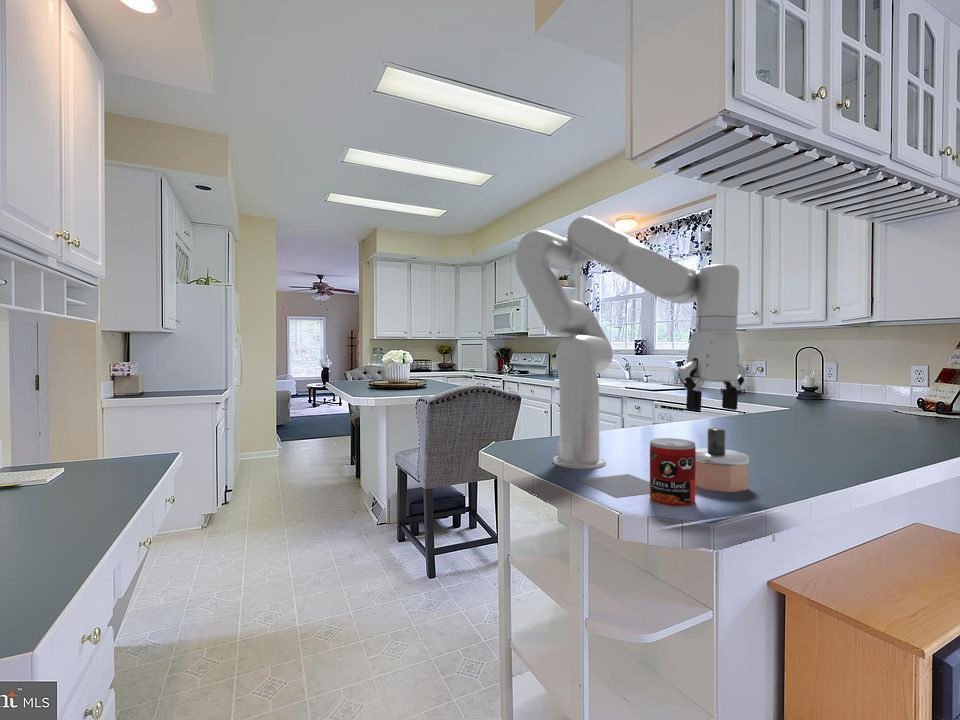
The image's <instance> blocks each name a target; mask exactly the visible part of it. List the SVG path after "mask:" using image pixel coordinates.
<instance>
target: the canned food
mask: <svg viewBox="0 0 960 720" xmlns="http://www.w3.org/2000/svg"><path fill="white" fill-rule="evenodd" d="M649 442H650V443H649V482H650V494H649V497H650V499H651V500H652V502H655V503H656V504H660V505H664V506H670V507H688V506H692V505H694V503H695V501H696V486H695V469H696V443H695V442H693V441H692V440H688V439H682V438H676V437H675V438H674V437H662V438H661V437H660V438H653V439H651V440H650V441H649Z"/></svg>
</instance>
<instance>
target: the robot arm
mask: <svg viewBox="0 0 960 720" xmlns="http://www.w3.org/2000/svg"><path fill="white" fill-rule="evenodd" d="M566 233H567V235H566V236H560V235H558V234H555V233H553V232H551V231H548V230H543V229H535V230H531V231H528V232H527V233H526V234H525V235H524V236H522V237H521V239H520V241H519V242H518V245H517V247H516V251H515V267H516V272H517V274H518V276H519V279H520V282H521V283H522V285H523V286H524V289H525V291H527V294H528V297H529V298H530V301H531V302H532V304H533V306H534V308H535V310H536V312H537V314H538V316H539V317H540V320H541V322H542V324H543V326H544V328H545V329H546V331H547V332H548V333H550V334H551V335H554V336H557V337H566V338H564V339H563V340H562V341H561V342H560V343H559V344H558V347H557V350H556V354H555V360H556V362H555V363H556V368H557V369H556V370H557V374H558V383H559V385H558V386H559V388H558V389H559V442H558V443H557V444H555V445H556V446H555V448H556V449H557V450H558V451H559V452H558V453H559V454H558V455H556V456H554V457H553V458H552V459H553V464H555V465H556V466H559V467H563V468H568V469H575V470H576V469H579V470H590V469H592V470H593V469H594V470H595V469H601V468H603V467H605V466H606V464H607V460H606V459H605V458H604V457H602V456H600V385H599V380H598V375H597V373H600V372H603V371H604V370H606V369H608V367H610V364H611V363H612V360H613V355H614V354H613V347H612V345H611V342H610V341H609V339H608V337H607V335H606V334H605V332H604V330H603V328H602V326H601V325H600V323H599V321H598V319H597V318H596V315H595V314H594V313H593V311H592V310H591V309H590V308H589V306H587V305H586V304H585V303H583V302H581V301H577V300H573V299H571V298H570V297H569V296H568V294H567V292H566V291H565V289H564V287H563V286H562V284H561V281H560V280H559V278H558V277H557V275H556V274H555V273H554V272H553V271H552V270H553V269H554V270H564V269H568V268H573V267H577V266H579V265H582V264H586V263H588V262H592V261H595V262H597V263H599V264H600V265H602V266H603V267H604V268H607V269H609V270H610V271H612V272H613V273H615V274H616V275H618V276H622V278H625V279H627V280H628V281H630V282H631V283H633V284H635V285H636V286H639V287H640V288H642V289H643V290H645V291H647V292H649V293H650V294H652V295H653V296H656V297H658V298H660V299H662V300H665V301H668V302H672V303H674V304H678V305H679V304H681V305H682V304H690V303H696V310H695V311H696V312H695V331H694V332H692V333H691V337H690V340H689V345H688V350H687V354H686V355H687V357H686V363H685V364H683V365H682V366H680V367H679V368H678V370H677V371H678V374H679V376H680V378H681V379H680V382H681V383H682V384H683V386H684V389H685V390H686V410H691V411H695V412H701V410H702V398H703V397H702V394H703V393H702V390H700V389H701V388H702V387H703V385H704V383H706V382H707V383H708V382H711V383H715V382H716V383H718V382H719V383H720V382H721V383H722V384H723V386H724V388H723V389H722V401H721V403H722V404H721V407H722V408H723V409H727V410H731V411H732V410H733V411H736V410H737V409H738V397H739V391H740V390H741V387H742V384H743V383H744V382H745V378H746V376H747V373H748V370H747V368H745V367H744V366H743V365H741V364H740V347H739V338H738V333H737V330H738V309H739V287H740V270H739V267H737V266H736V265H733V264H729V263H728V264H726V263H723V264H721V263H719V264H718V263H717V264H710V265H704V266H702V267H701V268H700V269H691V268H688V267H686V266H684V265H682V264H679V263H678V262H676V261H673V260H671V259H670V258H668V257H666V256H664V255H662V254H661V253H658V252H657V251H654V250H652V249H650V248H649V247H647V246H645V245H644V244H642V243H641V242H640V241H639V240H638V239H636V238H634V237H632V236H631V235H628V234H627V233H625V232H623V231H621V230H619V229H617V228H615V227H613V226H611V225H609V224H607V223H605V222H604V221H601V220H600V219H597V218H595V217H592V216H588V215H583V216H578V217H576V218H575V219H573V220H572V221H571V223H570V224H569V225H568V228H567V231H566ZM551 269H552V270H551Z"/></svg>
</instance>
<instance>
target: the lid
mask: <svg viewBox="0 0 960 720" xmlns="http://www.w3.org/2000/svg"><path fill="white" fill-rule="evenodd" d="M696 462H700V463H706V464H713V465H728V466H735V465H745V464H750V456H749V455H748V454H746V453H744V452H740V451H736V450H732V449H731V450H730V449H726V429H724V428H714V427H712V428H711V427H710V428H707V447H697V448H696Z"/></svg>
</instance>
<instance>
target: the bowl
mask: <svg viewBox="0 0 960 720" xmlns="http://www.w3.org/2000/svg"><path fill="white" fill-rule="evenodd" d="M748 464H749V463H748ZM748 464H745V465H735V466H728V465H713V464H706V463H700V462H696V469H695V488H699V489H702V490H705V491H716V492H725V493H737V492H742V491H743V492H744V491H748V484H749V483H748V482H749V481H748V479H749V477H748V476H749V475H748V474H749V473H748V470H749V469H748Z"/></svg>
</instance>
